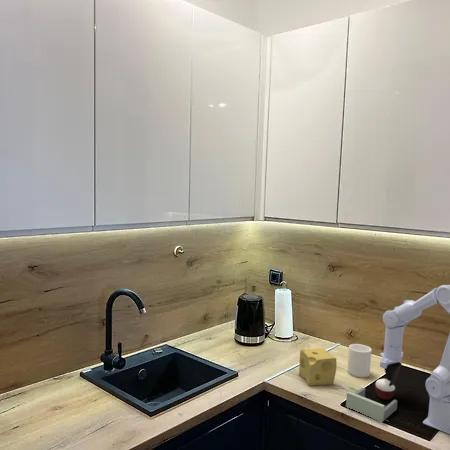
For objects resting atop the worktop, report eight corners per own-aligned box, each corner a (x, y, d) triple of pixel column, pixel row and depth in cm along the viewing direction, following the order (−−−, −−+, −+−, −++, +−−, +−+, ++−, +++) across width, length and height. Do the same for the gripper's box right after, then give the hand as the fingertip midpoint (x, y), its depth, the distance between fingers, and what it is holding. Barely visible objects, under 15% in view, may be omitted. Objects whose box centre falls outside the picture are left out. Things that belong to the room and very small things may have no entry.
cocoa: (370, 392, 152) (371, 359, 151) (388, 391, 152) (388, 358, 151) (382, 405, 142) (383, 370, 141) (401, 404, 143) (401, 369, 142)
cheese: (308, 386, 154) (310, 359, 153) (297, 373, 164) (299, 348, 163) (335, 384, 156) (337, 358, 155) (322, 371, 166) (324, 346, 165)
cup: (352, 378, 162) (354, 352, 161) (340, 364, 174) (341, 340, 173) (373, 377, 163) (375, 351, 162) (359, 364, 175) (361, 340, 174)
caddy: (396, 409, 140) (397, 394, 139) (381, 422, 132) (382, 406, 131) (362, 395, 148) (363, 382, 148) (345, 407, 140) (346, 392, 139)
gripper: (390, 336, 156) (387, 372, 158) (372, 346, 146) (369, 384, 147) (410, 341, 151) (407, 378, 153) (393, 352, 141) (389, 391, 142)
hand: (390, 381), depth 150 cm, fingers closed
